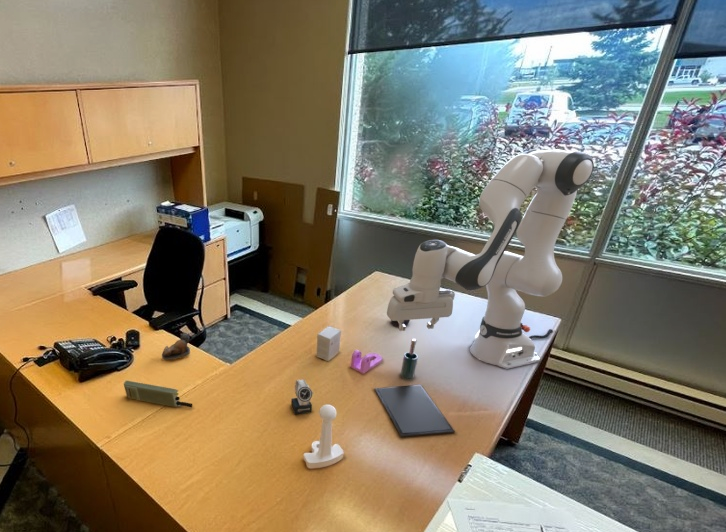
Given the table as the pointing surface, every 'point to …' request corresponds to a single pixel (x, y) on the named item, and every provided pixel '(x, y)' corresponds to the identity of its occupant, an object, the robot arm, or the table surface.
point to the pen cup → (409, 366)
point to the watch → (302, 398)
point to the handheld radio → (153, 394)
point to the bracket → (364, 361)
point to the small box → (328, 343)
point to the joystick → (324, 442)
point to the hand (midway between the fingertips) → (415, 328)
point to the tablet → (413, 411)
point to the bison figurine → (177, 348)
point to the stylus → (412, 348)
